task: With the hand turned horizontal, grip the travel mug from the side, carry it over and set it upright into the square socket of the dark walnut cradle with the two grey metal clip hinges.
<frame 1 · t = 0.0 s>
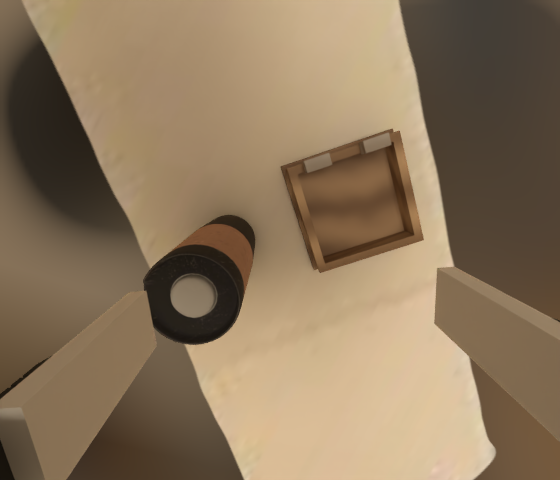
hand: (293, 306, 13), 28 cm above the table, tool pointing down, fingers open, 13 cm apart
travel mug: (230, 239, 41), on the table
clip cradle: (349, 202, 40), on the table
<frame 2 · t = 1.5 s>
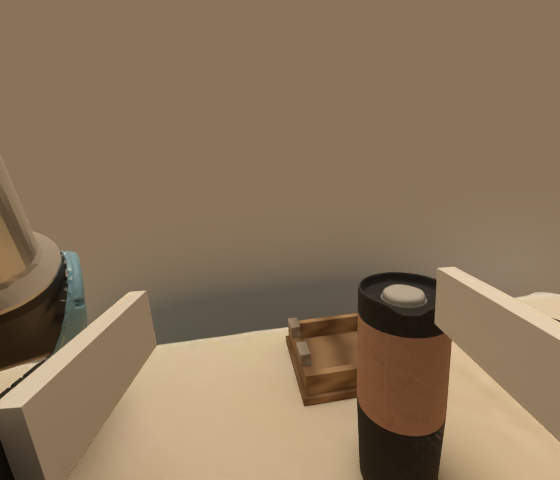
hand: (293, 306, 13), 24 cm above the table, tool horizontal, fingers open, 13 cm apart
travel mug: (396, 473, 29), on the table
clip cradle: (340, 361, 46), on the table
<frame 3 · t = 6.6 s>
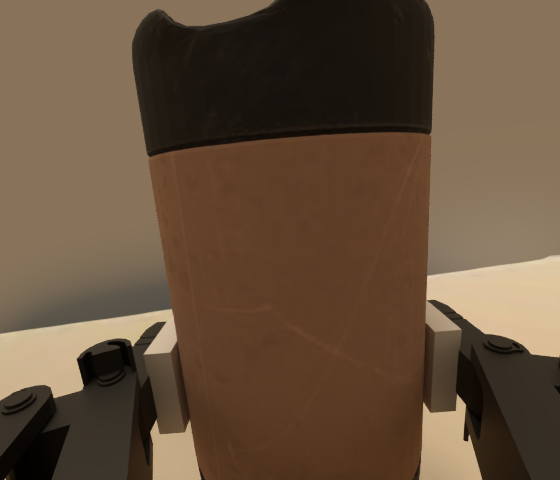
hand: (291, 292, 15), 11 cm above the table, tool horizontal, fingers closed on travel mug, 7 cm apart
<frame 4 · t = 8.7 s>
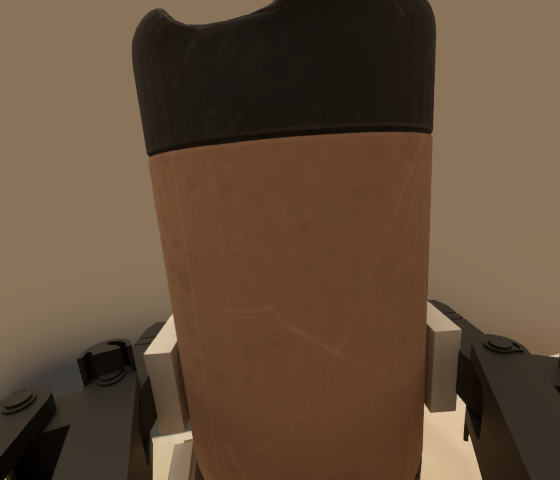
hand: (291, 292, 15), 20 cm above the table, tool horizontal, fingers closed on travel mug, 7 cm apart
when the fingers open (13 cm above the table, at t = 11.1 s): travel mug drops 1 cm, resting on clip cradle.
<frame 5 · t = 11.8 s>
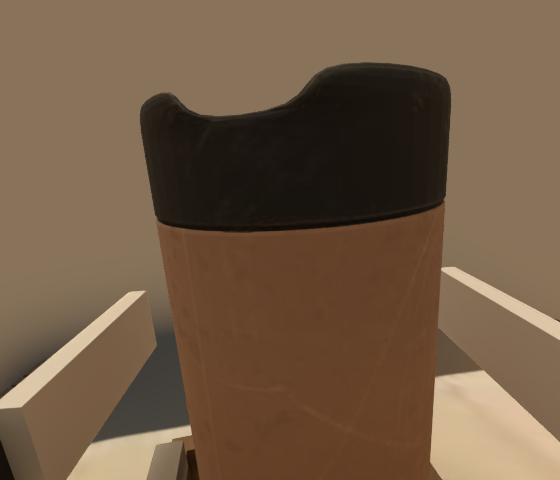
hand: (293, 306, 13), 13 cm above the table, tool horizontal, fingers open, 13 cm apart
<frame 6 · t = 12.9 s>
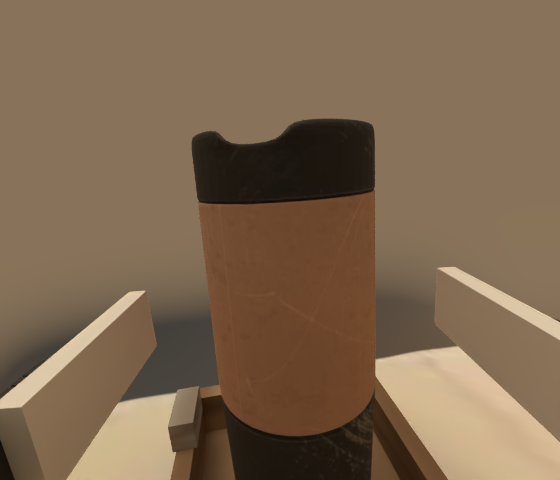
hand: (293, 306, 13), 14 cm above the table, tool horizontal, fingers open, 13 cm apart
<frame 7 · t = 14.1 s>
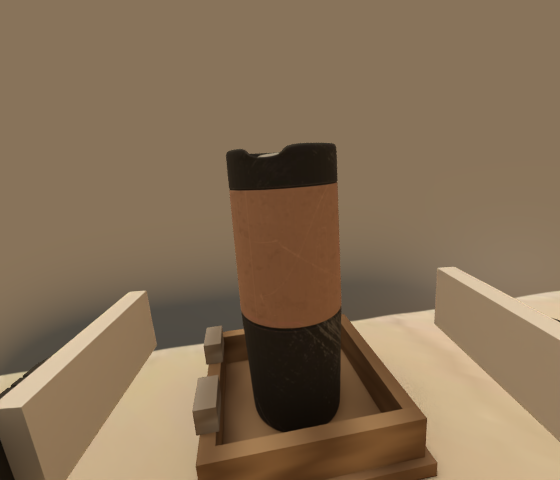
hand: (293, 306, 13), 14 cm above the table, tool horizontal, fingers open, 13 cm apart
travel mug: (297, 399, 24), point 1 cm above the table, touching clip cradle
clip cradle: (296, 406, 25), on the table
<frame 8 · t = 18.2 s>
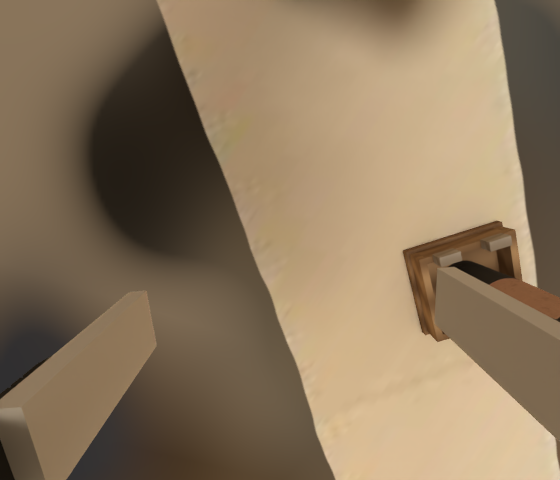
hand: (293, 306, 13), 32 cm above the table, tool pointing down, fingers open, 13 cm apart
travel mug: (460, 281, 46), point 1 cm above the table, touching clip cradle
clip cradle: (458, 278, 47), on the table
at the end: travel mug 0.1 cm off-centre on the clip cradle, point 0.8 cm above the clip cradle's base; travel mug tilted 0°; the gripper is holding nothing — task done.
